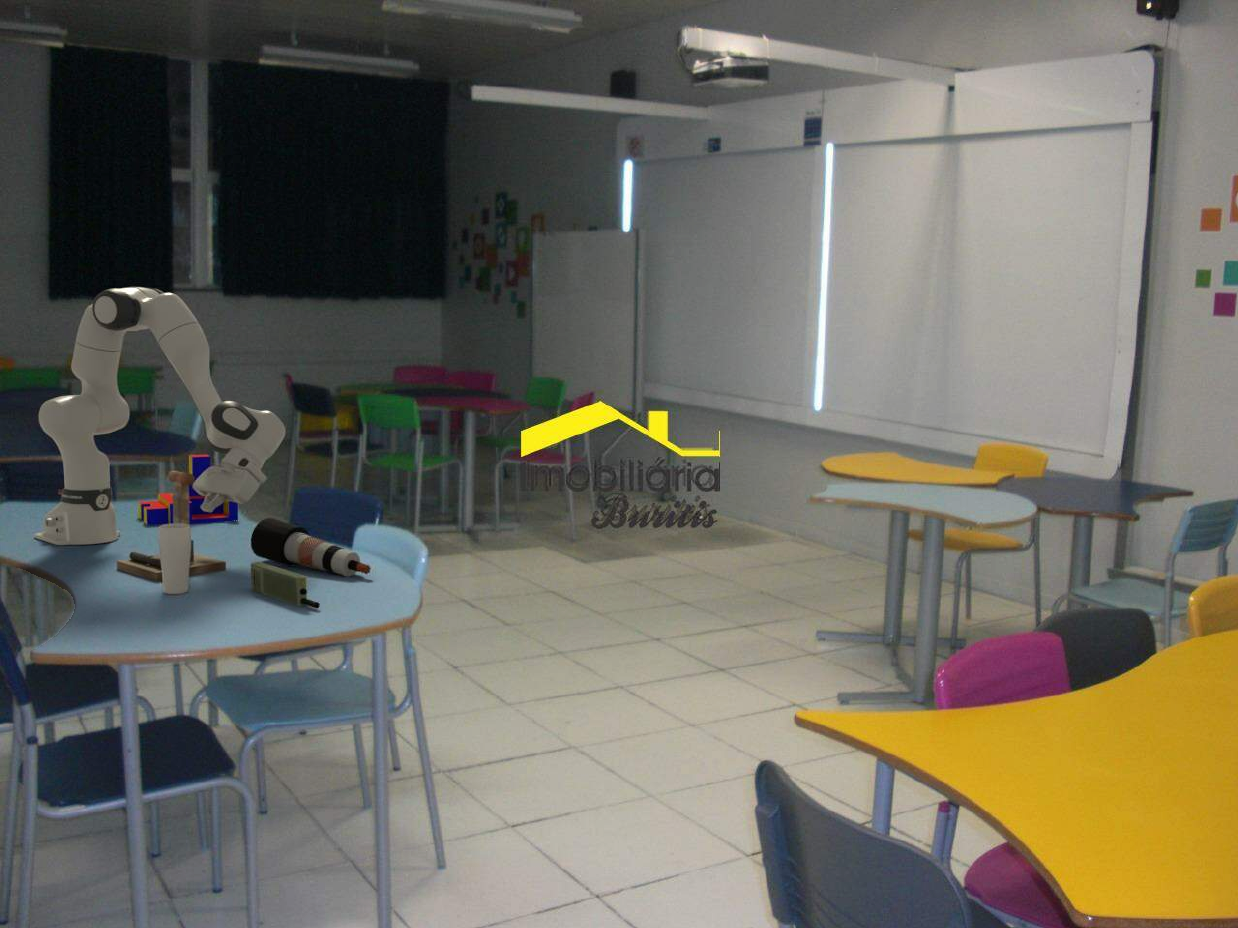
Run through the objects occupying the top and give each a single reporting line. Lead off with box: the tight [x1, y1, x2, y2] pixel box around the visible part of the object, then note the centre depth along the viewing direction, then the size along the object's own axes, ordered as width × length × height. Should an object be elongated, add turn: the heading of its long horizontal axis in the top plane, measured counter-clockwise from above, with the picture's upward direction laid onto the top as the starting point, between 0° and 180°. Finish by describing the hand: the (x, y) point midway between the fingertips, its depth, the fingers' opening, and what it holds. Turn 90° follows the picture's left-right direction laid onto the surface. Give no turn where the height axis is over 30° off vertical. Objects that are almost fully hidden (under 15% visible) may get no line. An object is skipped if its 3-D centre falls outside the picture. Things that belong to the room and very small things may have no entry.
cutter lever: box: [167, 470, 195, 525], centre depth 290 cm, size 3×7×20 cm, turn 50°
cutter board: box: [116, 539, 227, 582], centre depth 290 cm, size 18×18×7 cm
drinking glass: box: [157, 523, 192, 595], centre depth 267 cm, size 7×7×15 cm
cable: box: [250, 517, 372, 578], centre depth 294 cm, size 10×34×10 cm, turn 59°
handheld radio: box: [250, 561, 321, 609], centre depth 264 cm, size 7×3×25 cm
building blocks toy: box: [137, 454, 239, 526], centre depth 356 cm, size 19×25×18 cm
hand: (205, 510), depth 295 cm, fingers closed
